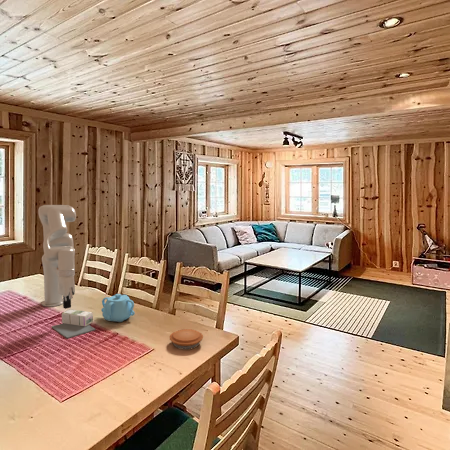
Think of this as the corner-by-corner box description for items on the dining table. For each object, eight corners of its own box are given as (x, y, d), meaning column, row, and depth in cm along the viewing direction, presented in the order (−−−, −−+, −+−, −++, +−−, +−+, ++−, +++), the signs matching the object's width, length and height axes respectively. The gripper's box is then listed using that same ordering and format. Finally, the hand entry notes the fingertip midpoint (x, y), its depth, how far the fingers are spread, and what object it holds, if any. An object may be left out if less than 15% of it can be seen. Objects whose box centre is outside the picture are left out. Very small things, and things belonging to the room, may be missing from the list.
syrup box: (61, 323, 172) (86, 327, 169) (61, 312, 171) (85, 316, 168) (69, 319, 178) (93, 322, 174) (69, 308, 177) (92, 312, 173)
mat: (51, 327, 168) (51, 326, 168) (79, 320, 178) (79, 319, 178) (67, 338, 156) (67, 337, 156) (95, 330, 167) (95, 328, 167)
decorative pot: (136, 321, 179) (136, 297, 178) (104, 326, 172) (104, 300, 170) (130, 311, 193) (130, 288, 192) (100, 315, 186) (100, 291, 185)
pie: (209, 346, 153) (209, 336, 153) (179, 355, 144) (179, 344, 144) (192, 334, 166) (192, 324, 165) (163, 341, 157) (163, 331, 156)
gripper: (52, 271, 171) (53, 305, 173) (65, 276, 162) (66, 313, 163) (67, 269, 177) (68, 302, 179) (80, 274, 167) (81, 309, 169)
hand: (67, 307), depth 171 cm, fingers closed
